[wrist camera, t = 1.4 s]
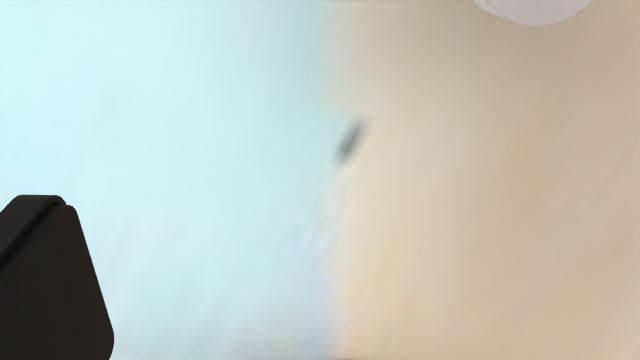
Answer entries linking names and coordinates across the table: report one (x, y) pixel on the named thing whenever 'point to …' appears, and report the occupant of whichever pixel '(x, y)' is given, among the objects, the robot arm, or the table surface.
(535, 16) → the supplement bottle
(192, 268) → the table surface
